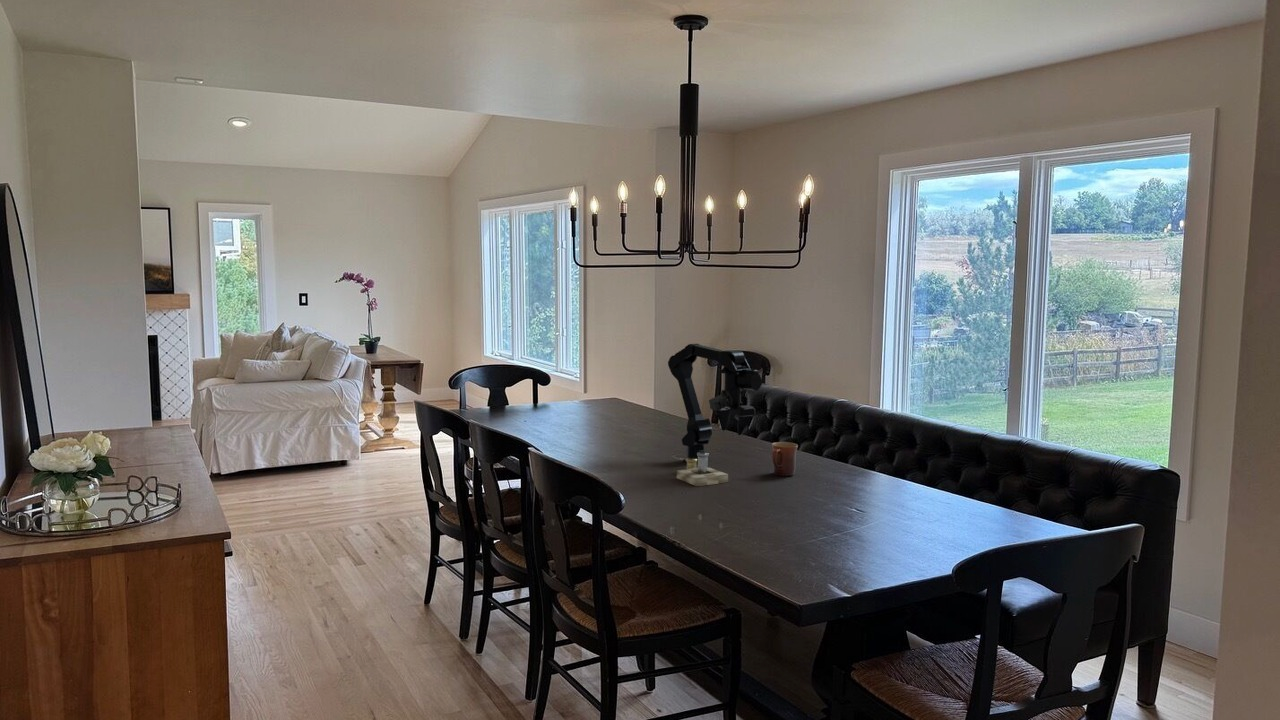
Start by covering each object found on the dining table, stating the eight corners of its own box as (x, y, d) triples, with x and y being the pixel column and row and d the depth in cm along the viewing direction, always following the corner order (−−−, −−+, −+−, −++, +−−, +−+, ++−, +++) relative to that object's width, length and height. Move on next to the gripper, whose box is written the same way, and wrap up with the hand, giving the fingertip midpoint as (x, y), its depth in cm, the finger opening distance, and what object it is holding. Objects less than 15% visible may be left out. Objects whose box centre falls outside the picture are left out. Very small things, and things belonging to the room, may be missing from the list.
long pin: (694, 479, 286) (694, 452, 285) (703, 478, 288) (704, 451, 287) (700, 482, 282) (701, 454, 281) (710, 480, 284) (711, 453, 283)
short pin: (683, 471, 297) (683, 458, 296) (693, 470, 298) (693, 457, 298) (689, 474, 293) (690, 460, 293) (699, 472, 295) (699, 459, 295)
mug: (778, 470, 301) (779, 441, 300) (801, 474, 296) (802, 444, 295) (761, 476, 291) (762, 446, 290) (784, 480, 286) (785, 449, 285)
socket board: (676, 478, 287) (676, 470, 287) (707, 474, 293) (707, 466, 293) (696, 486, 277) (697, 477, 276) (727, 482, 283) (728, 474, 282)
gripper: (697, 385, 301) (696, 429, 303) (729, 392, 285) (728, 439, 287) (724, 383, 307) (723, 427, 308) (756, 390, 291) (755, 436, 292)
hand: (731, 432), depth 299 cm, fingers open, 9 cm apart
